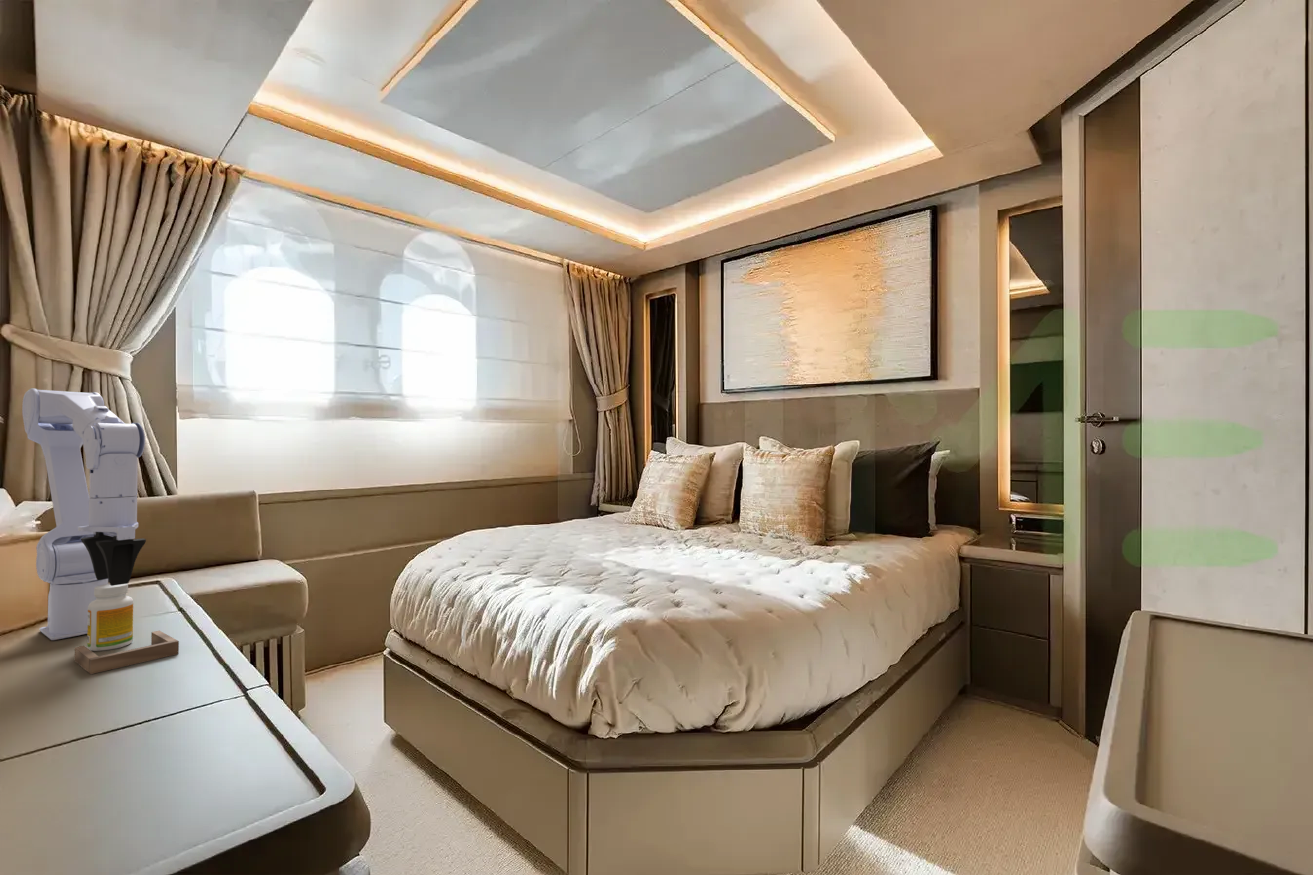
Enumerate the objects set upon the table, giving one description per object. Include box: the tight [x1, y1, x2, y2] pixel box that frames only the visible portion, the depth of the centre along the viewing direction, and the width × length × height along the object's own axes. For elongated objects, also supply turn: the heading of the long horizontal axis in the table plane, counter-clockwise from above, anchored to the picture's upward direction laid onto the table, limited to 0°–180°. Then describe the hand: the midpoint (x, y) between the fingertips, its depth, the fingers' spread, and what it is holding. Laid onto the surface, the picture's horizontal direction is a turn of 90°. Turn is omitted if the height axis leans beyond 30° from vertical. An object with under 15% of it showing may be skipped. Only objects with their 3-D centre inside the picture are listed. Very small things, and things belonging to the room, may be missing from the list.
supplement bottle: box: [86, 583, 134, 652], centre depth 95 cm, size 5×5×10 cm
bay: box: [74, 630, 180, 675], centre depth 89 cm, size 9×10×2 cm
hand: (112, 581), depth 94 cm, fingers open, 7 cm apart
